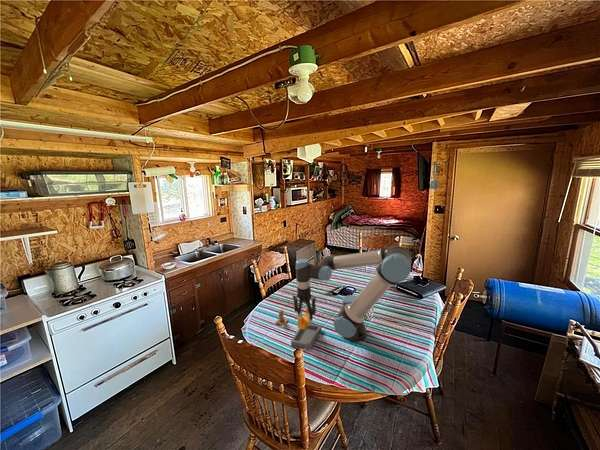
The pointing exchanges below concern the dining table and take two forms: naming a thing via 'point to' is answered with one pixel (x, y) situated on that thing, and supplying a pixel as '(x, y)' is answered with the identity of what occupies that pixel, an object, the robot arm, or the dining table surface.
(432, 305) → the dining table surface
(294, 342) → the tray
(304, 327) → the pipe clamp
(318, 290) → the dining table surface
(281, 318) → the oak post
